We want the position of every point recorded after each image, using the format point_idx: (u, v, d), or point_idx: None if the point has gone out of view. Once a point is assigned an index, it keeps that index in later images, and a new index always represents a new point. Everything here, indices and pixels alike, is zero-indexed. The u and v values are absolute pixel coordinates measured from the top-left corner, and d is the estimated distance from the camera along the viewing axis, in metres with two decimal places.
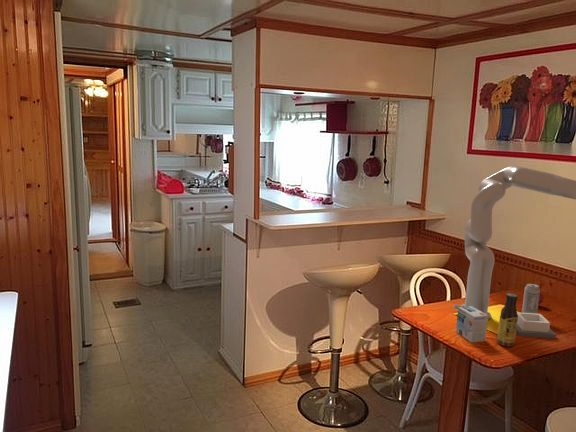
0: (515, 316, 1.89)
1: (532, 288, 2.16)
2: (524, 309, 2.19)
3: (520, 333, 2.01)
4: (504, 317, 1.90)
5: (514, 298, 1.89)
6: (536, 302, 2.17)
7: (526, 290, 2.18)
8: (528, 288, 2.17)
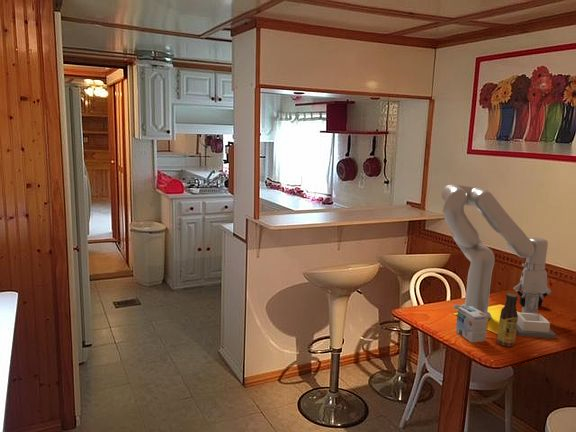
0: (515, 316, 1.89)
1: None
2: (524, 309, 2.19)
3: (520, 333, 2.01)
4: (504, 317, 1.90)
5: (514, 298, 1.89)
6: (536, 302, 2.17)
7: None
8: None
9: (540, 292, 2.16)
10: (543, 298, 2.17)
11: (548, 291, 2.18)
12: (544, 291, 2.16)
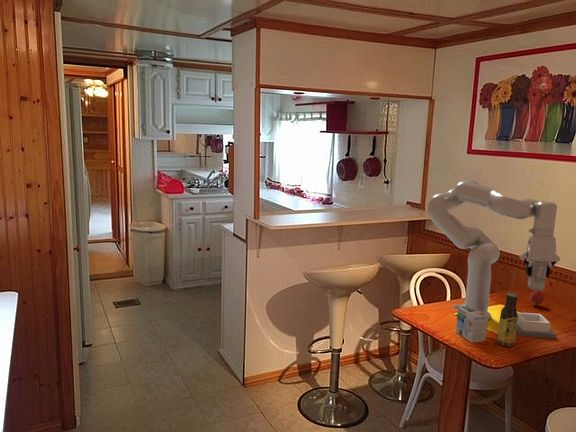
0: (515, 316, 1.89)
1: None
2: (531, 279, 2.03)
3: (520, 333, 2.01)
4: (504, 317, 1.90)
5: (514, 298, 1.89)
6: (544, 271, 2.00)
7: None
8: None
9: (548, 260, 1.99)
10: (551, 267, 2.01)
11: (557, 259, 2.01)
12: (553, 259, 1.99)
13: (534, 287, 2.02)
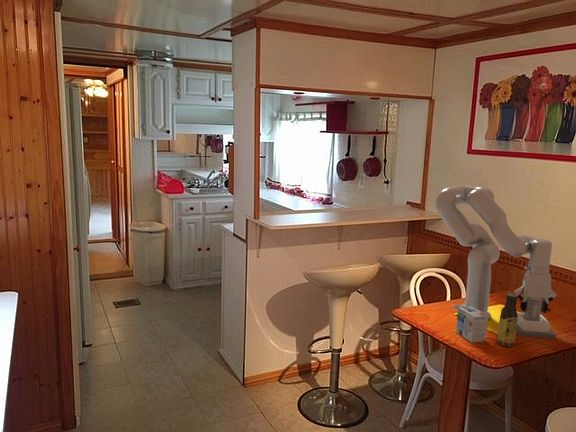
0: (515, 316, 1.89)
1: None
2: (526, 317, 2.06)
3: (520, 333, 2.01)
4: (504, 317, 1.90)
5: (514, 298, 1.89)
6: (538, 310, 2.03)
7: None
8: None
9: (544, 297, 2.02)
10: None
11: (554, 295, 2.04)
12: (548, 296, 2.02)
13: None
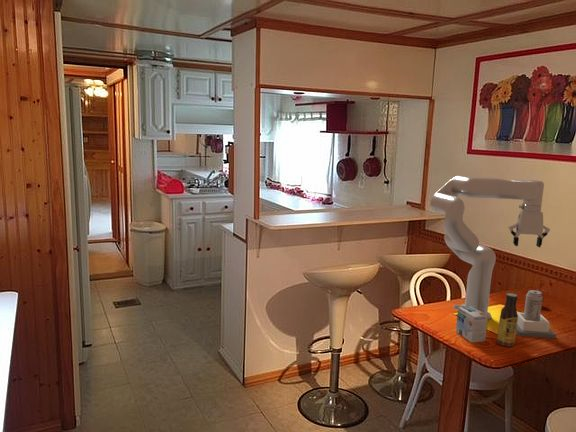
0: (515, 316, 1.89)
1: (534, 295, 2.03)
2: (526, 317, 2.06)
3: (520, 333, 2.01)
4: (504, 317, 1.90)
5: (514, 298, 1.89)
6: (538, 310, 2.03)
7: (528, 297, 2.05)
8: (530, 295, 2.04)
9: (536, 233, 2.20)
10: (543, 237, 2.22)
11: (547, 230, 2.22)
12: (540, 232, 2.20)
13: None
